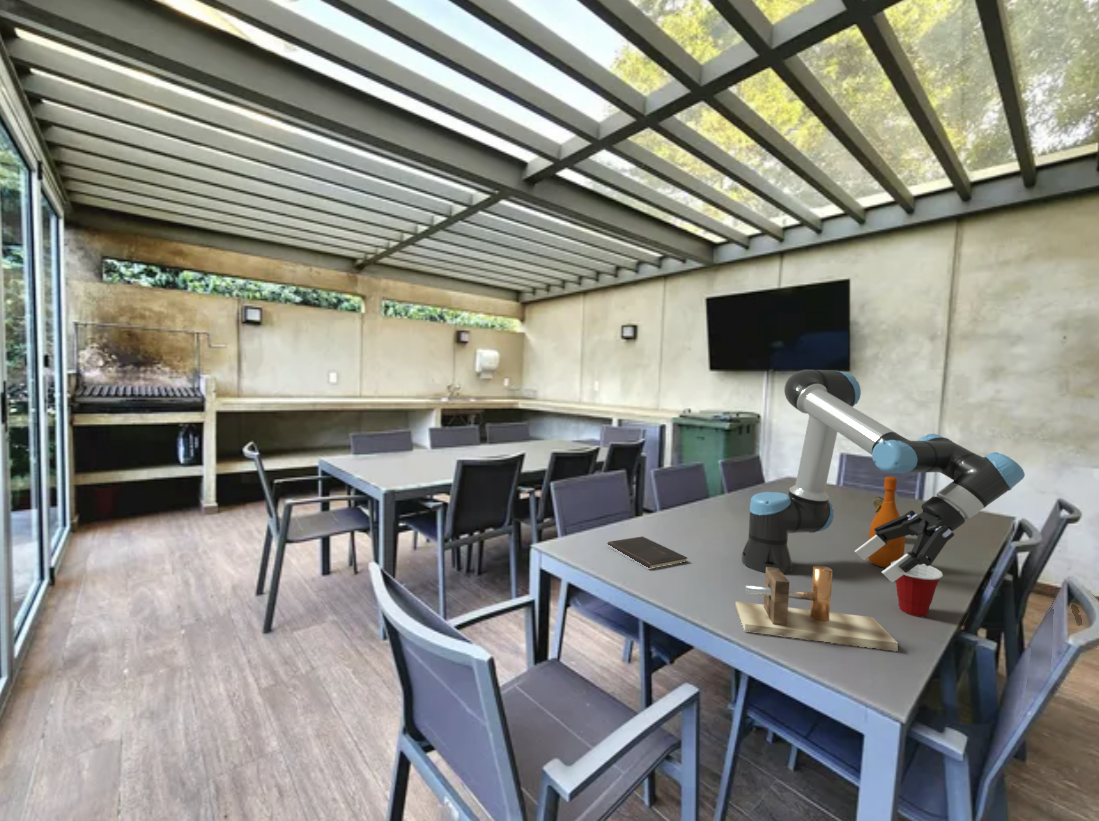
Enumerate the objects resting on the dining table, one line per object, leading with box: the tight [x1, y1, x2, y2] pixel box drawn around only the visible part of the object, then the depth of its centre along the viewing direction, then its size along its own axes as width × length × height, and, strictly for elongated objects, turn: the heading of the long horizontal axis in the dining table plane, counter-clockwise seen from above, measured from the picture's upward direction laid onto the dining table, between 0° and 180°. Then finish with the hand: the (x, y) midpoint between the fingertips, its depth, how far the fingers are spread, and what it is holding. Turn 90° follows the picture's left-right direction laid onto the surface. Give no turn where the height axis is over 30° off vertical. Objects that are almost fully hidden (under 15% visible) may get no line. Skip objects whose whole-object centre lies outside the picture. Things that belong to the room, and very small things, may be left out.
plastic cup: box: [891, 561, 944, 618], centre depth 124 cm, size 11×11×12 cm
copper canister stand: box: [734, 567, 899, 652], centre depth 113 cm, size 32×12×12 cm, turn 79°
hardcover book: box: [606, 536, 688, 568], centre depth 160 cm, size 16×23×2 cm
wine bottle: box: [867, 475, 906, 569], centre depth 157 cm, size 10×10×30 cm
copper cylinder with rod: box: [744, 564, 833, 622], centre depth 114 cm, size 19×4×12 cm, turn 79°
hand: (871, 566), depth 110 cm, fingers open, 13 cm apart
